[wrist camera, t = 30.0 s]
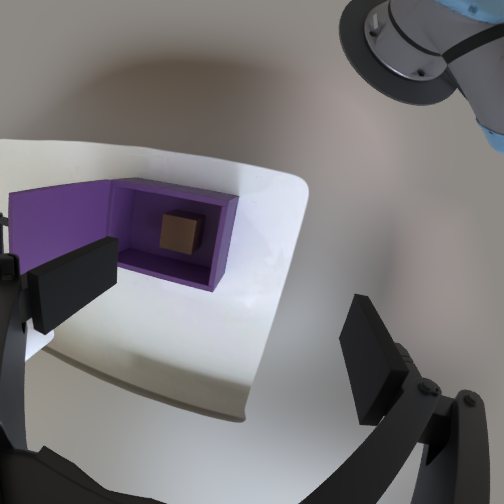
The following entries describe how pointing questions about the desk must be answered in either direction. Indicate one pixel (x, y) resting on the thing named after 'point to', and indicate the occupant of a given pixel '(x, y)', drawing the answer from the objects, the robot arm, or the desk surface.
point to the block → (182, 231)
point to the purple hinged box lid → (55, 220)
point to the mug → (35, 340)
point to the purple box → (150, 223)
